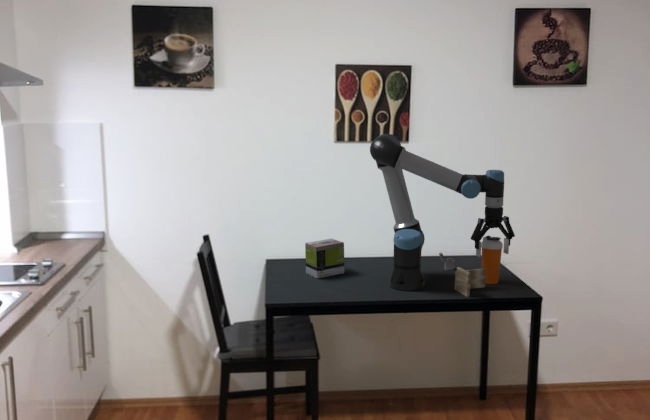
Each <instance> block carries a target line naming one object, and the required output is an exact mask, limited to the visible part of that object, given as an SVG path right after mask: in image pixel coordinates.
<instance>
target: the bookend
mask: <svg viewBox="0 0 650 420" xmlns="http://www.w3.org/2000/svg"><path fill="white" fill-rule="evenodd" d="M454 273H455V274H454V291H456V292H458V293H459V294H461V295H463V296H464V297H466V298H468V297H471V296H470V293H471V289H480V288H486V269H485V268H482V267H481V268H473V269H464V268H462V267H460V266H457V267H456V270H455V271H454Z"/></svg>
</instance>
